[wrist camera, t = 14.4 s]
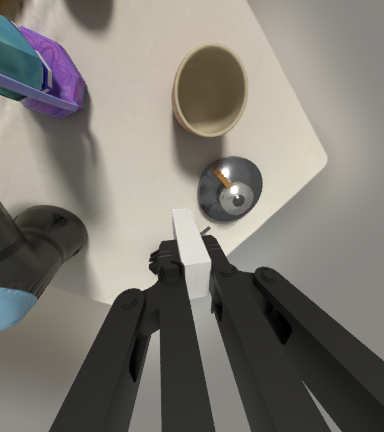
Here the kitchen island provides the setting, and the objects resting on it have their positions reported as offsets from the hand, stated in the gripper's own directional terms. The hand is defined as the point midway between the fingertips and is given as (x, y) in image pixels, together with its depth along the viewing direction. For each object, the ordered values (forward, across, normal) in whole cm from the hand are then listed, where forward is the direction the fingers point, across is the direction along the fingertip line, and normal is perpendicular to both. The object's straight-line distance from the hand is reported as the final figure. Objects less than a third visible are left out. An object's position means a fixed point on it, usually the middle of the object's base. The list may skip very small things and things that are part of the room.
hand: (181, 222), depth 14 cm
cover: (+27, +16, -8) cm, 33 cm away
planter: (+30, +8, +12) cm, 33 cm away
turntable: (+29, +17, -8) cm, 35 cm away
